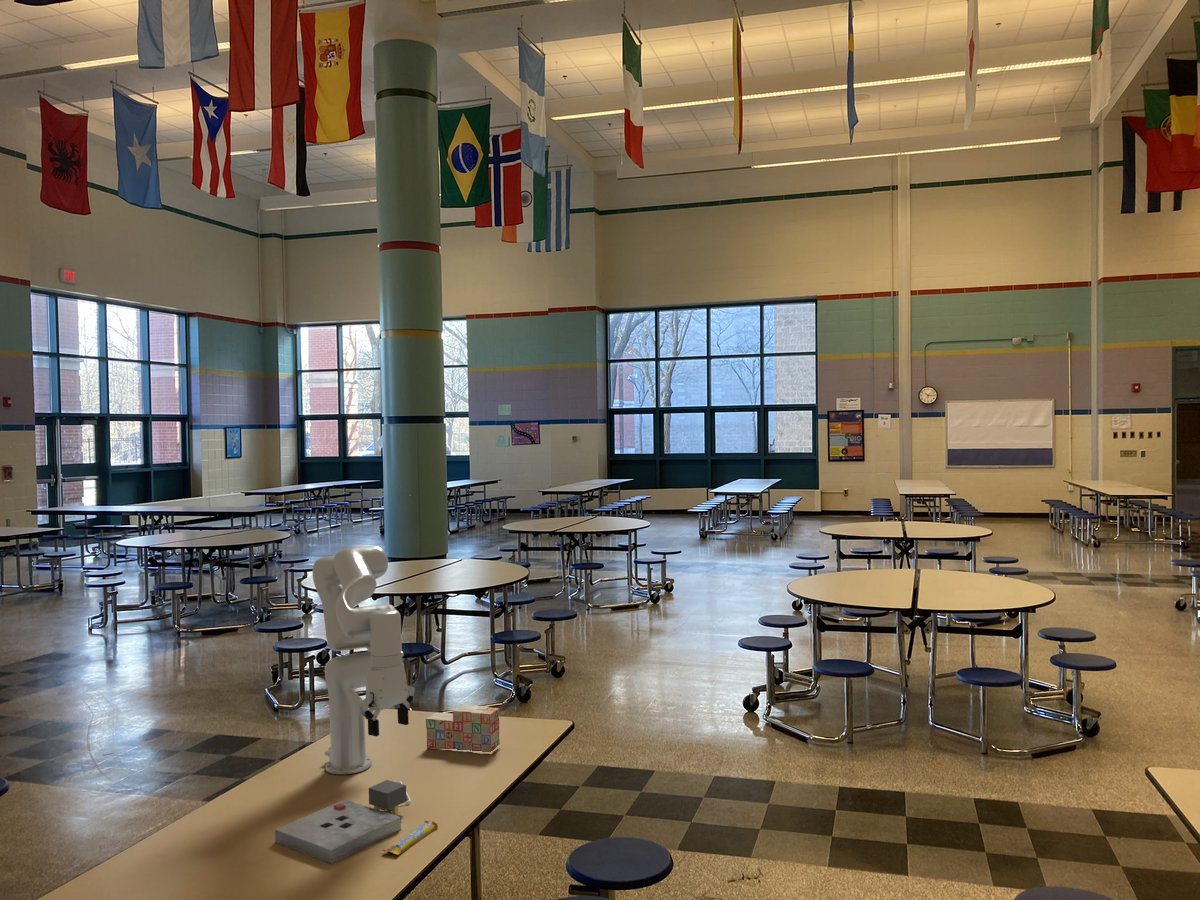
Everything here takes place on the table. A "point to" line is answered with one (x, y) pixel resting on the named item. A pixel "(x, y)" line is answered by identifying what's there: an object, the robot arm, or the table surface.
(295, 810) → the table surface
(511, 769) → the table surface
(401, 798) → the plug
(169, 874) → the table surface
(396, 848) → the candy bar
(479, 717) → the stack of blocks
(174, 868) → the table surface
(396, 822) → the socket plate
